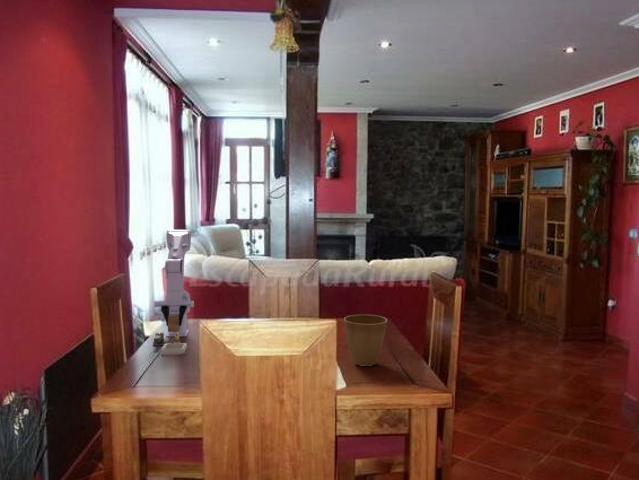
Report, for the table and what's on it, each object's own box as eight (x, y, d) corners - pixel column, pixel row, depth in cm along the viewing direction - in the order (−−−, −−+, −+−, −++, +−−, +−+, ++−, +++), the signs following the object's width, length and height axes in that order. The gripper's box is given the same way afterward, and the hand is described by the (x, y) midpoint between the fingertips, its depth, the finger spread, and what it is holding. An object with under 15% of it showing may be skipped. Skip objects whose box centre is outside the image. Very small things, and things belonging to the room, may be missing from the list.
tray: (164, 348, 197) (164, 343, 197) (186, 348, 198) (186, 343, 198) (161, 354, 189) (161, 349, 189) (183, 354, 190) (183, 349, 190)
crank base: (154, 342, 206) (154, 332, 205) (180, 341, 207) (180, 331, 207) (151, 346, 200) (151, 336, 199) (178, 346, 201) (178, 335, 201)
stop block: (169, 329, 203) (169, 313, 202) (180, 328, 203) (180, 313, 203) (167, 331, 199) (167, 316, 198) (178, 331, 199) (178, 316, 199)
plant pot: (349, 355, 193) (350, 312, 192) (389, 360, 188) (391, 316, 187) (337, 367, 179) (338, 321, 178) (380, 372, 174) (381, 325, 173)
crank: (156, 340, 204) (156, 331, 204) (164, 340, 204) (164, 331, 204) (151, 346, 195) (151, 337, 195) (160, 346, 195) (160, 337, 195)
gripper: (152, 292, 195) (152, 328, 196) (192, 292, 197) (192, 327, 198) (156, 288, 202) (156, 323, 203) (194, 288, 204) (194, 323, 205)
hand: (174, 325), depth 201 cm, fingers closed on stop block, 4 cm apart
